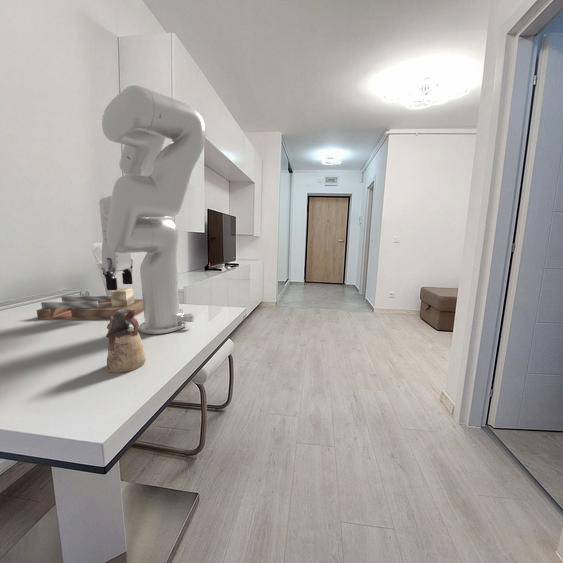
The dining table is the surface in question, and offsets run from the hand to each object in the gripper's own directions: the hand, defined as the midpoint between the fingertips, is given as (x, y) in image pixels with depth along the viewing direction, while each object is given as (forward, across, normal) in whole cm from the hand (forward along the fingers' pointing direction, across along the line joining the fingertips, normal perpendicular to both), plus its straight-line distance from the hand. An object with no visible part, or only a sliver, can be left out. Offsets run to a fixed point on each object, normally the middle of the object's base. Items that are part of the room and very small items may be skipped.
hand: (120, 286), depth 98 cm
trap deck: (+9, +1, -8) cm, 12 cm away
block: (+6, +1, +1) cm, 6 cm away
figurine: (+8, +41, +23) cm, 47 cm away
